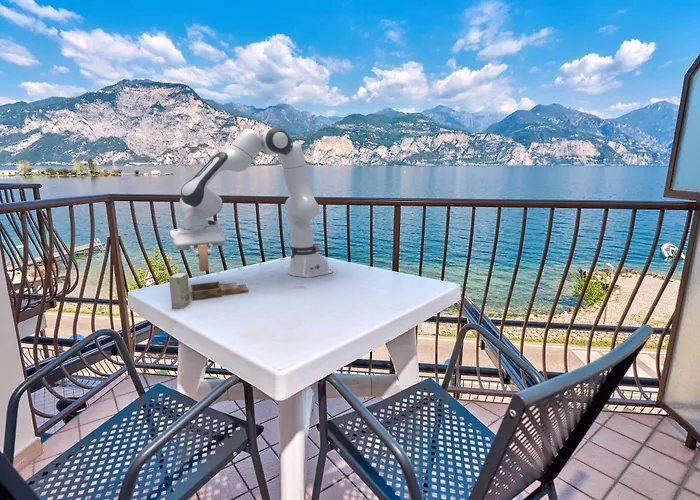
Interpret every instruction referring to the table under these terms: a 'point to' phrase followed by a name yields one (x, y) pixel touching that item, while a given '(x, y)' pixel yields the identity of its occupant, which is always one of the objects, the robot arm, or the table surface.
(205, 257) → the wooden block
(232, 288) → the wooden desk organizer
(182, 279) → the skincare box
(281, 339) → the table surface
